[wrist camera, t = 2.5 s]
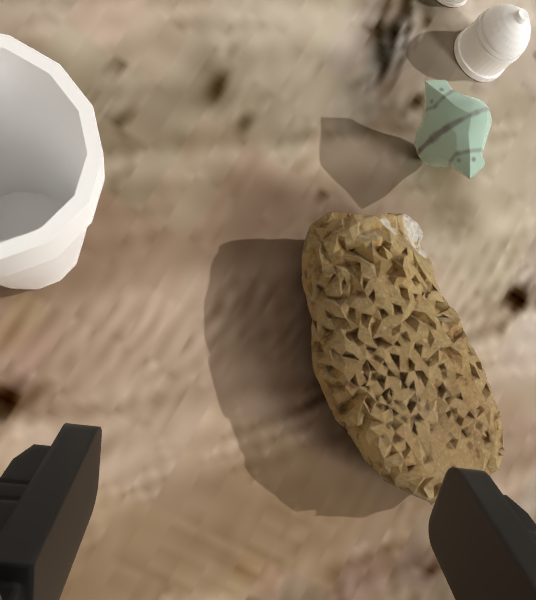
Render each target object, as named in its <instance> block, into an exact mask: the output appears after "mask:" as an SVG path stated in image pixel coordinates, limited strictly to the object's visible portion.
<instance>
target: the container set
mask: <svg viewBox="0 0 536 600" xmlns="http://www.w3.org/2000/svg"><path fill="white" fill-rule="evenodd" d="M437 1H438V2H439V3H441V4H443V5H445V6H448V7H459V6H462V5H463V4H464V3H465V2H466V1H467V0H437ZM530 33H531V26H530V21H529V18H528V13H527V11H526V10H524V9H521V8H519V7H517V6H514V5H511V4H500V5H496V6H493V7H491V8H489V9H487V10H486V11H484V12H483V13H482V14H481V15H479V17H478V18H477V19H476V20H475V21H474V22H473V23H472V24H471V25H470V26H469V27H467V28H465V29H464V30H463V31H462V32H461V33H460V34H459V35H458V36H457V38H456V40H455V43H454V53H455V57H456V60H457V62H458V64H459V66H460V67H461V69H462V70H463V71H464V72H465V73H466V74H467V75H468V76H470V77H471V78H473V79H475V80H477V81H480V82H490V81H493V80H494V79H496V78H497V77H498V76H499V75H501V73H502V72H503V71H504V69H505V68H506V67H507V66H508V65H510V64H511V63H512V62H514V61H515V60H517V59H518V57H520V56H521V54H522V53H523V52H524V50H525V49H526V47H527V44H528V42H529V39H530Z"/></svg>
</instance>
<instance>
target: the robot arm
mask: <svg viewBox="0 0 536 600" xmlns="http://www.w3.org/2000/svg"><path fill="white" fill-rule="evenodd" d="M101 438H102V430H101V427H96V426H87V425H78V424H69V423H65V424H64V425H63V427H62V428H61V430H60V432H59V433H58V435H57V437H56V439H55V440H54V442H53V444H52V445H51V446H45V445H35V444H34V445H32V446H31V447H30V448H28V449H27V450H25V451H24V452H23V453H21V454H20V455H18V456H17V457H15V458H14V459H13V460H12V461H11V463H10V464H9V466H8V467H7V469H6V470H5V472H4V473H3V475H2V476H1V478H0V600H59V599H60V596H61V593H62V591H63V588H64V585H65V583H66V580H67V578H68V575H69V572H70V570H71V567H72V564H73V562H74V559H75V557H76V554H77V551H78V549H79V546H80V543H81V541H82V538H83V536H84V533H85V530H86V528H87V525H88V522H89V520H90V517H91V514H92V511H93V508H94V504H95V500H96V495H97V490H98V480H99V466H100V452H101ZM429 539H430V543H431V546H432V549H433V551H434V553H435V556H436V558H437V560H438V562H439V564H440V567H441V569H442V571H443V573H444V575H445V577H446V580H447V582H448V584H449V586H450V588H451V591H452V593H453V595H454V597H455V599H456V600H536V524H535V523H534V521H533V520H532V519H531V517H530V516H529V515H528V513H527V512H526V511H524V510H523V509H522V508H521V507H520V506H518V505H517V504H516V503H515V502H514V501H513V500H511V499H510V498H509V497H508V496H507V495H503V494H502V493H501V491H500V490H499V489H498V487H497V486H496V484H495V483H494V482H493V480H492V479H491V477H490V476H489V475H488V474H487V473H486V472H485V471H483V470H474V469H465V468H456V467H451V468H449V469H448V470H447V472H446V474H445V476H444V479H443V482H442V485H441V488H440V491H439V493H438V496H437V499H436V502H435V505H434V508H433V510H432V513H431V516H430V520H429Z"/></svg>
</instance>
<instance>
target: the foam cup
mask: <svg viewBox="0 0 536 600" xmlns="http://www.w3.org/2000/svg"><path fill="white" fill-rule="evenodd" d="M104 180H105V175H104V155H103V151H102V146H101V141H100V137H99V132H98V127H97V123H96V118H95V113H94V109H93V106H92V105H91V103H90V102H89V101H88V100H87V98H86V97H85V96H84V94H83V93H82V92H81V91H80V89H79V88H78V87H77V85H76V84H75V83H74V82H73V80H72V79H71V78H70V77H69V75H68V74H67V73H66V71H65V70H64V69H63V68H62V66H61V65H60V64H58V63H57V62H55V61H53V60H51V59H50V58H48V57H46V56H44V55H43V54H41V53H39V52H37V51H36V50H34V49H32V48H31V47H29V46H27V45H25V44H24V43H22V42H20V41H18V40H17V39H15V38H13V37H11V36H10V35H5V34H0V285H1V286H4V287H7V288H12V289H40V288H43V287H45V286H48V285H50V284H53V283H56V282H58V281H60V280H61V279H62V278H63V277H64V276H65V275H66V274H67V273H68V272H69V271H70V270H71V269H72V268H73V267H74V266H75V265H76V263H77V260H78V257H79V254H80V250H81V247H82V244H83V240H84V237H85V233H86V229H87V227H88V226H89V225H90V224H91V223H92V220H93V216H94V213H95V210H96V206H97V203H98V200H99V196H100V193H101V190H102V186H103V183H104Z"/></svg>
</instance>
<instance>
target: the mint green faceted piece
mask: <svg viewBox="0 0 536 600" xmlns="http://www.w3.org/2000/svg"><path fill="white" fill-rule="evenodd" d="M491 122H492V119H491V114H490V109H489V108H488V107H487V106H486V105H485V103H484V102H483V101H482V100H480V99H477V98H473V97H470V96H467V95H464V94H461V93H458V92H456V91H454V90H452V88H451V87H450V85H449V84H448V83H447V81H446V80H433V81H425V110H424V116H423V121H422V123H421V125H420V127H419V129H418V131H417V133H416V140H415V146H416V151H417V155H418V156H419V158H420V159H421V160H422V162H423V163H424V164H427V165H431V166H434V167H443V166H445V167H448V168H452V169H454V170H456V171H458V172H459V173H461V174H463V175H464V176H466V177H468V178H469V179H471V178H472V177H473V176H474V175H475V174H476V173H477V172H478V171H480V170H481V169H482V168H483V167H484V166H485V163H484V159H483V154H482V153H483V150H484V147H485V143H486V140H487V137H488V133H489V130H490V126H491Z"/></svg>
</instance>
